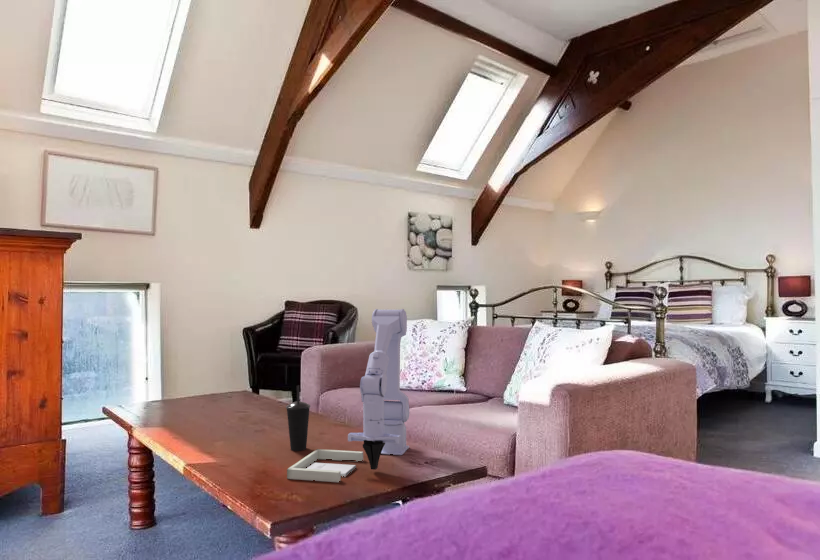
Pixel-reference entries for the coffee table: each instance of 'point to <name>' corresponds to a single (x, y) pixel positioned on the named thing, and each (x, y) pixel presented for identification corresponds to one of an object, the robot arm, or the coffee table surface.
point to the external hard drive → (333, 467)
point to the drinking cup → (298, 423)
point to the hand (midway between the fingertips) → (374, 468)
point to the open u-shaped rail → (321, 475)
